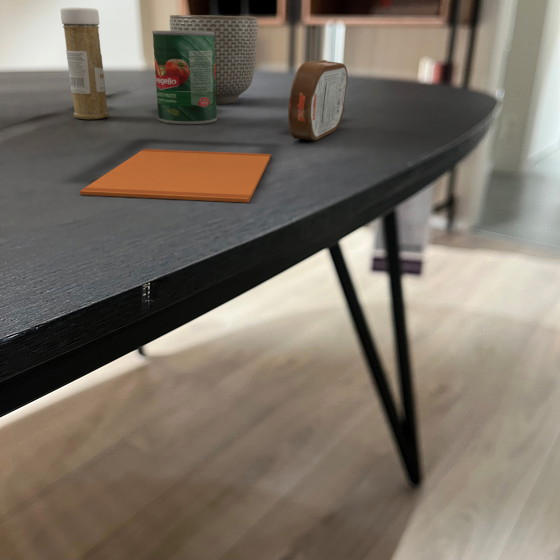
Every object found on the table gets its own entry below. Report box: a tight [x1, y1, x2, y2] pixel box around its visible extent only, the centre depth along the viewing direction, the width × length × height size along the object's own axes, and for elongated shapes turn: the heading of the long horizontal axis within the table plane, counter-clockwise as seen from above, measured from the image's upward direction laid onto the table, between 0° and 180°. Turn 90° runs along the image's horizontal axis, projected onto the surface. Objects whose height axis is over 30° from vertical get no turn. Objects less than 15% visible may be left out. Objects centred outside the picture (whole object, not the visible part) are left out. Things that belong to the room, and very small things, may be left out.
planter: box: [169, 14, 259, 105], centre depth 93 cm, size 14×14×13 cm
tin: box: [287, 59, 349, 142], centre depth 67 cm, size 15×3×8 cm, turn 159°
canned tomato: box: [151, 30, 218, 126], centre depth 75 cm, size 8×8×11 cm
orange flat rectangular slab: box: [79, 148, 272, 204], centre depth 50 cm, size 13×16×1 cm
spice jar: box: [59, 6, 109, 121], centre depth 74 cm, size 5×5×13 cm
